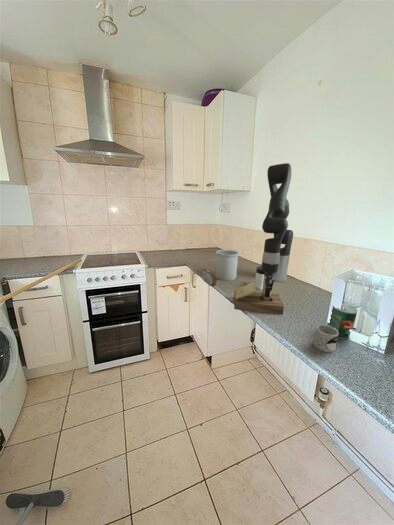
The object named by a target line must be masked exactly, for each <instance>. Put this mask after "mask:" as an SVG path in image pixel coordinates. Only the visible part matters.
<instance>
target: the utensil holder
mask: <svg viewBox="0 0 394 525" xmlns="http://www.w3.org/2000/svg"><path fill="white" fill-rule="evenodd" d="M239 255H240V254H239V251H237V250H233V249H219V250H216V251H215V256H216V257H215V275H216V279H217V280H220V281H227V282H228V281H234V280H236V279H237V274H238V261H239V258H238V257H239Z"/></svg>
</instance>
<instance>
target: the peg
mask: <svg viewBox="0 0 394 525" xmlns="http://www.w3.org/2000/svg"><path fill="white" fill-rule="evenodd" d="M266 283H267V282H266ZM265 287H266V285H265V277H264V283H263V290H261V293H262V300H263V301H270V297H271V293H272V291H270V297H269V298H267V297H265ZM268 288H270V287H268Z"/></svg>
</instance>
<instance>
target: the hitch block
mask: <svg viewBox="0 0 394 525" xmlns="http://www.w3.org/2000/svg"><path fill="white" fill-rule="evenodd" d="M233 300H234V302H233V304H234V305H233V309H234V310H237V311H249V312H257V313H265V312H266V314H267V313H269V314H275V315H276V314H277V315H283V314H284V308H285V305H284V303H283V301H282V298H281V297H280V295H279V294H278V293H272V292H271V297H270V301H263V300H262V291H261V292H260V291H256V292H255V293H252V294H250V295H247V296H245V297H243V298H240V299H238V300H236V289H235V290H234V298H233Z"/></svg>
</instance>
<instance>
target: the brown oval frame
mask: <svg viewBox="0 0 394 525" xmlns="http://www.w3.org/2000/svg"><path fill="white" fill-rule="evenodd" d="M201 278H202V280H203V282H204V283H205V284H207V285H208V286H211V287H213V286H216V285H217V282H218V281H217V280H218V279H217V278H216V273H215V272H213V270H210V269H209V268H203V269H202V270H201Z"/></svg>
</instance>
